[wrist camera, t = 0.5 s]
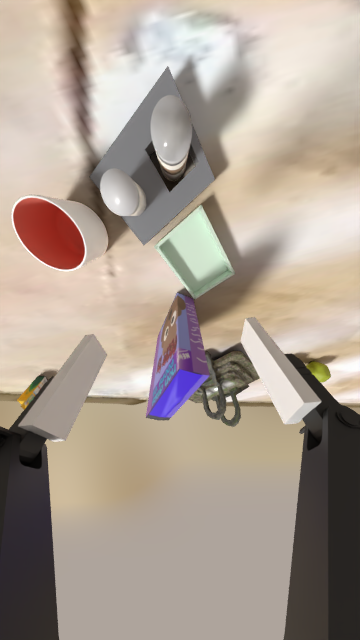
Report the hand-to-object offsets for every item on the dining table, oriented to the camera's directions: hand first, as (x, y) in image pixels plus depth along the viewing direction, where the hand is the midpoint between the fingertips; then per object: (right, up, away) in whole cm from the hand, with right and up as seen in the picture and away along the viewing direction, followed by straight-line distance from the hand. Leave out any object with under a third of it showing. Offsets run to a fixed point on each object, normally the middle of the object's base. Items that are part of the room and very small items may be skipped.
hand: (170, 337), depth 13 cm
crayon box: (-58, -25, +49) cm, 80 cm away
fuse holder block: (-4, +26, +13) cm, 29 cm away
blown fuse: (0, +28, +11) cm, 30 cm away
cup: (-19, +20, +17) cm, 32 cm away
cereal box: (-1, +2, +31) cm, 31 cm away
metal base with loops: (+16, -23, +50) cm, 57 cm away
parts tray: (+5, +16, +20) cm, 26 cm away
